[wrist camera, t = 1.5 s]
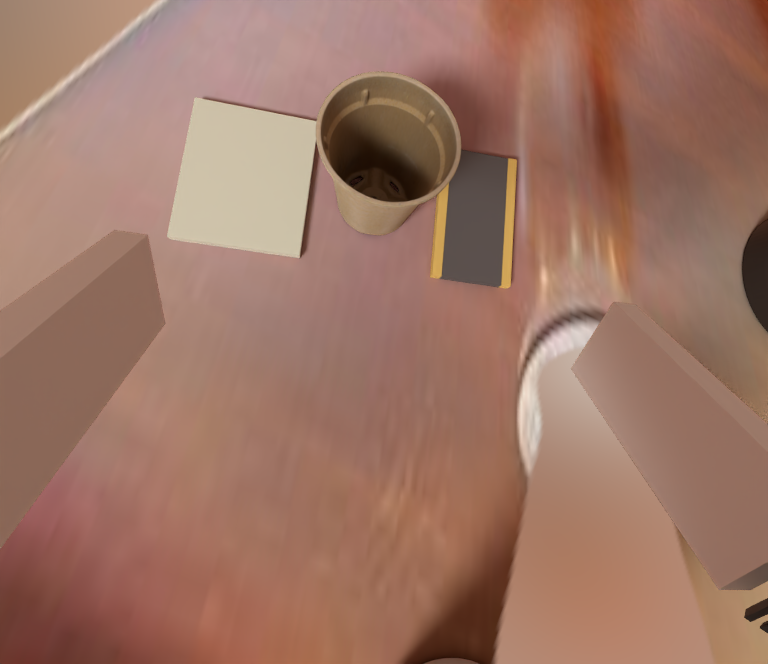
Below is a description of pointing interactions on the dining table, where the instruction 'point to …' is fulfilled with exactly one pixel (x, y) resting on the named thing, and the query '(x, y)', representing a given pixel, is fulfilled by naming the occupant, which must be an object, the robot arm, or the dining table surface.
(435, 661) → the cylinder vase
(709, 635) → the dining table surface
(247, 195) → the pad
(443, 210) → the trap mat
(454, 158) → the flower pot
